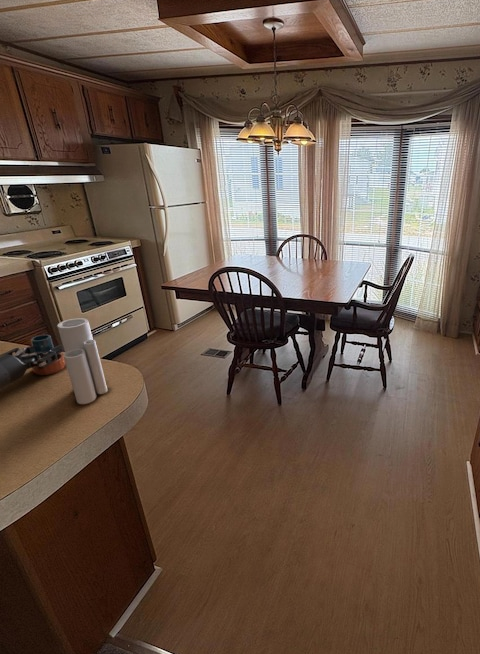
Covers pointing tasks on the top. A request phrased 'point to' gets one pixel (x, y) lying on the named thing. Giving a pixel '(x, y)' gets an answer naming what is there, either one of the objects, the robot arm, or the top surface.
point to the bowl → (51, 366)
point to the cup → (42, 343)
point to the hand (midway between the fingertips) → (50, 346)
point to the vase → (82, 360)
